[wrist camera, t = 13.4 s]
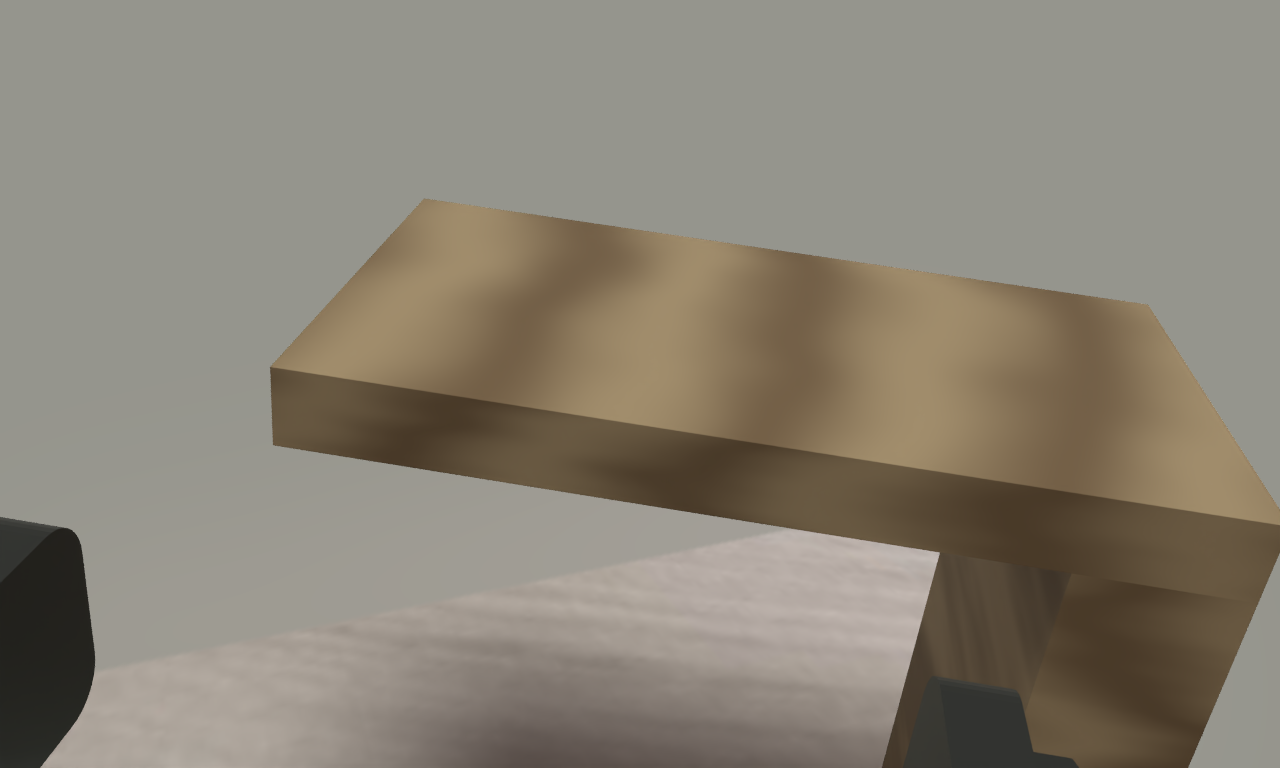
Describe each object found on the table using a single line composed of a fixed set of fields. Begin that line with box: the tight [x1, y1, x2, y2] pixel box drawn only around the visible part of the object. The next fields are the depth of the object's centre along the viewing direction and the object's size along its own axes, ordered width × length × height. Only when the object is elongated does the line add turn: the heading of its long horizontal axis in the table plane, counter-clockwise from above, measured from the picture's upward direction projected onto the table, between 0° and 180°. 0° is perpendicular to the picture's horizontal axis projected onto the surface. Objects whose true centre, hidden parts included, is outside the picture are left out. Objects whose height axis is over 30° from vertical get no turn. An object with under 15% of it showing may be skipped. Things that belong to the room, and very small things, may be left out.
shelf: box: [270, 199, 1280, 768], centre depth 36 cm, size 22×12×21 cm, turn 83°
